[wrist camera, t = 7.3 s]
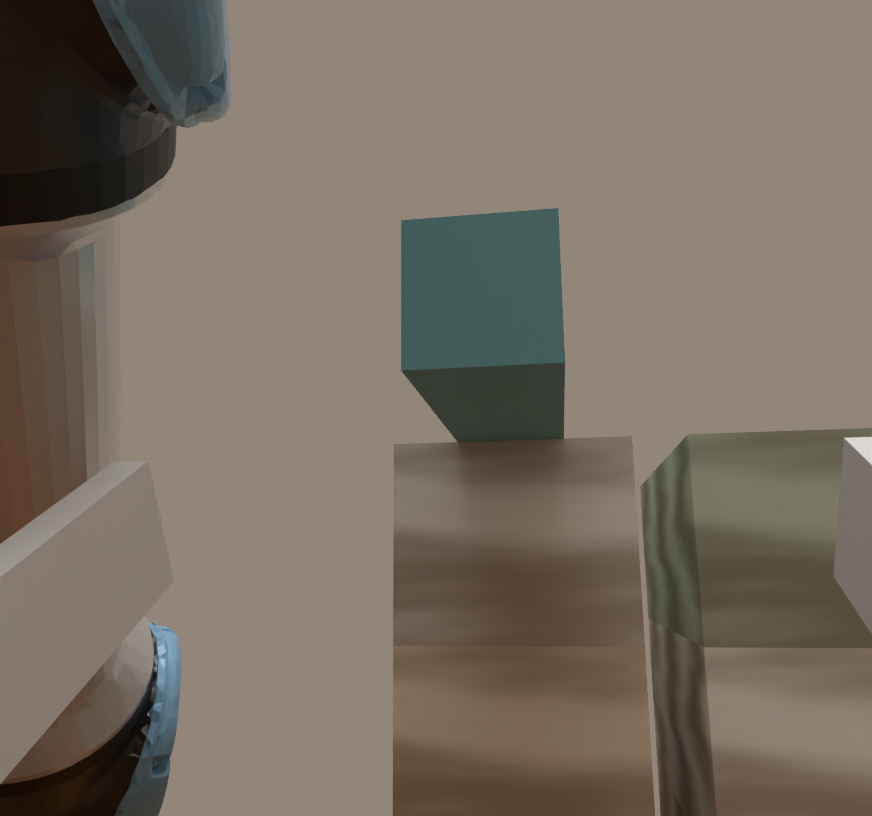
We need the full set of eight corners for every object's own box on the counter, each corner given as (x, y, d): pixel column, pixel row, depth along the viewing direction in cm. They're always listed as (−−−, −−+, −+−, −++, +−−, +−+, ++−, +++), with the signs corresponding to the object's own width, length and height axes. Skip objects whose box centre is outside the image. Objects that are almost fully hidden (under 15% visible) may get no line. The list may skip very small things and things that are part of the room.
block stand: (1114, 1515, 21) (954, 425, 27) (390, 1404, 24) (393, 444, 30) (865, 1091, 39) (802, 482, 45) (462, 1057, 42) (454, 491, 48)
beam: (564, 362, 19) (558, 208, 20) (401, 370, 19) (401, 220, 20) (562, 490, 48) (560, 425, 49) (497, 492, 48) (495, 428, 49)
